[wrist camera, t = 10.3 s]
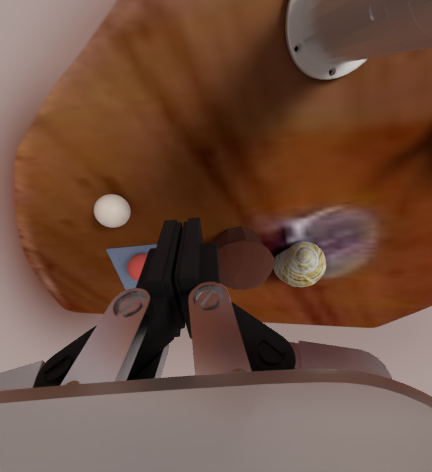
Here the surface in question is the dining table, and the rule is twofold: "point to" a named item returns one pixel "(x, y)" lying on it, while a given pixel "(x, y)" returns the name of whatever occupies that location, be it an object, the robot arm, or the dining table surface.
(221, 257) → the muffin
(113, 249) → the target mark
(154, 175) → the dining table surface
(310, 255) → the seashell
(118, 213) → the cue ball
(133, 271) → the red ball
